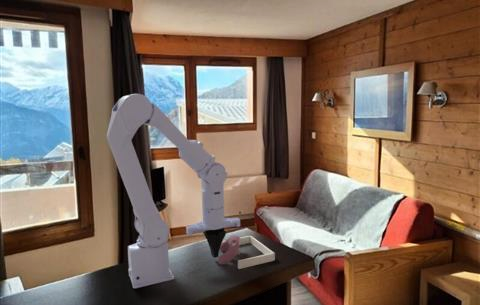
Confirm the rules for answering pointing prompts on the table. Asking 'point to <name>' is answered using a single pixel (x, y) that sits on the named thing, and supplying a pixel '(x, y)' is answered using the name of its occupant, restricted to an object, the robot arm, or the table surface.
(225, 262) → the video game controller
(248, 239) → the dock
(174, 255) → the table surface
